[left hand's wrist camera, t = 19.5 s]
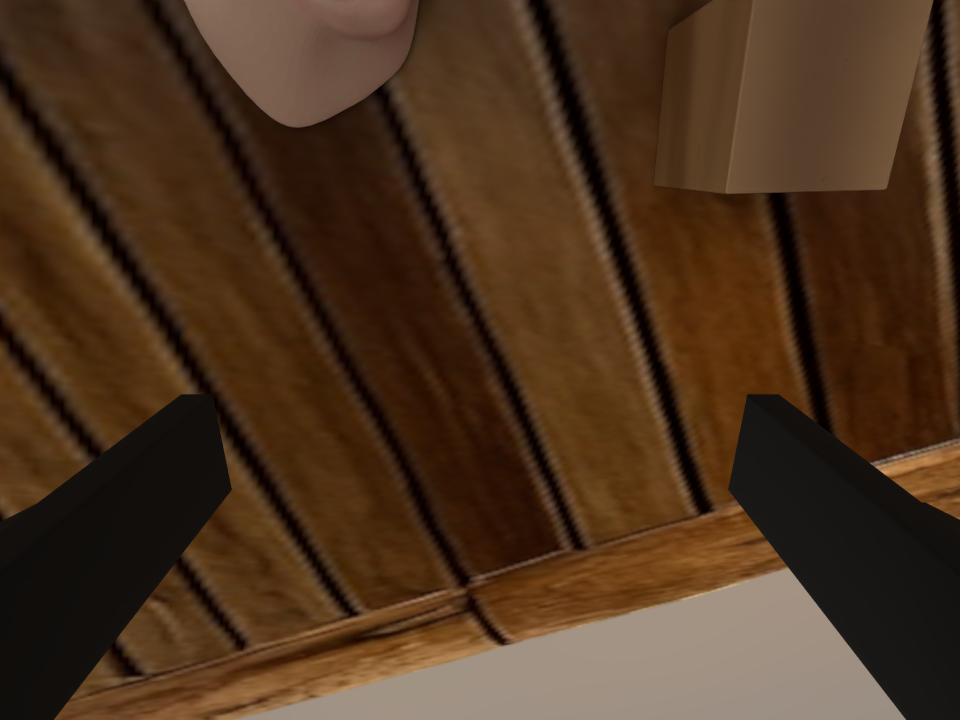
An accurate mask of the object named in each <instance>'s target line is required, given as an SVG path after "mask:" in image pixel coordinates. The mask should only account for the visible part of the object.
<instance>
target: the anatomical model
mask: <svg viewBox="0 0 960 720" xmlns="http://www.w3.org/2000/svg"><path fill="white" fill-rule="evenodd" d="M184 1H185V3H186V5H187V7H188V10H189V12H190V14H191V16H192V18H193V20H194V22H195V23H196V25H197V27H198V29H199V31H200V33H201V35H202V36H203V38H204V39H205V41H206V42H207V44H208V45H209V47H210V48H211V50H212V51H213V53H214V54H215V56H216V57H217V58H218V60H219V61H220V62H221V64H222V65H223V66H224V68H225V69H226V70H227V72H228V73H229V74H230V75H231V77H232V78H233V79H234V80H235V81H236V82H237V84H238V85H239V86H240V87H241V88H242V90H243V91H244V92H245V93H246V94H247V95H248V96H249V97H250V98H251V99H252V100H253V101H254V102H255V103H256V104H257V105H258V106H259V107H260V108H261V109H262V110H263V111H264V112H265V113H266V114H268V115H269V116H270V117H271V118H273V119H274V120H276V121H277V122H279V123H281V124H284V125H286V126H290V127H306V126H310V125H313V124H316V123H319V122H321V121H324V120H326V119H328V118H330V117H332V116H334V115H336V114H338V113H340V112H342V111H343V110H345V109H347V108H349V107H351V106H353V105H355V104H356V103H358V102H360V101H361V100H363V99H365V98H366V97H367V96H369V95H370V94H371V93H372V92H374V91H375V90H376V89H377V88H379V87H380V86H381V85H383V84H384V83H385V82H386V81H388V80H389V79H390V78H391V77H392V76H393V75H394V74H395V73H396V72H397V71H398V70H399V69H400V67H401V66H402V64H403V63H404V61H405V59H406V57H407V55H408V53H409V50H410V47H411V43H412V39H413V35H414V31H415V24H416V18H417V11H418V4H419V0H184Z"/></svg>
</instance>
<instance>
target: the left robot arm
mask: <svg viewBox="0 0 960 720" xmlns="http://www.w3.org/2000/svg"><path fill="white" fill-rule="evenodd" d="M231 490H232V488H231V484H230V479H229V474H228V469H227V464H226V459H225V454H224V449H223V444H222V439H221V434H220V429H219V424H218V419H217V414H216V409H215V404H214V399H213V394H181V395H180V396H179V397H177V398H176V399H175V400H173V401H172V402H171V403H169V404H168V405H167V406H165V407H164V408H163V409H161V410H160V411H159V412H157V413H156V414H155V415H153V416H152V417H151V418H150V419H148V420H147V421H146V422H144V423H143V424H142V425H140V426H139V427H138V428H136V429H135V430H134V431H132V432H131V433H130V434H128V435H127V436H126V437H124V438H123V439H122V440H120V441H119V442H118V443H116V444H115V445H114V446H112V447H111V448H110V449H109V450H107V451H106V452H105V453H103V454H102V455H101V456H99V457H98V458H97V459H95V460H94V461H93V462H91V463H90V464H89V465H87V466H86V467H85V468H83V469H82V470H81V471H79V472H78V473H77V474H75V475H74V476H73V477H71V478H70V479H69V480H68V481H66V482H65V483H64V484H62V485H61V486H60V487H58V488H57V489H56V490H54V491H53V492H52V493H50V494H49V495H48V496H46V497H45V498H44V499H42V500H41V501H40V502H38V503H37V504H35V505H33V506H31V507H29V508H27V509H25V510H23V511H21V512H19V513H17V514H15V515H13V516H11V517H9V518H8V519H6V520H4V521H2V522H0V720H54V719H55V718H56V716H57V715H58V714H59V712H60V711H61V710H62V708H63V707H64V706H65V705H66V703H67V702H68V701H69V699H70V698H71V697H72V696H73V694H74V693H75V692H76V690H77V689H78V688H79V686H80V685H81V684H82V683H83V681H84V680H85V679H86V677H87V676H88V675H89V674H90V672H91V671H92V670H93V668H94V667H95V666H96V665H97V663H98V662H99V661H100V659H101V658H102V657H103V655H104V654H105V653H106V652H107V650H108V649H109V648H110V646H111V645H112V644H113V643H114V641H115V640H116V639H117V637H118V636H119V635H120V633H121V632H122V631H123V630H124V628H125V627H126V626H127V624H128V623H129V622H130V621H131V619H132V618H133V617H134V615H135V614H136V613H137V612H138V610H139V609H140V608H141V606H142V605H143V604H144V602H145V601H146V600H147V599H148V597H149V596H150V595H151V593H152V592H153V591H154V590H155V588H156V587H157V586H158V584H159V583H160V582H161V580H162V579H163V578H164V577H165V575H166V574H167V573H168V571H169V570H170V569H171V568H172V566H173V565H174V564H175V562H176V561H177V560H178V558H179V557H180V556H181V555H182V553H183V552H184V551H185V549H186V548H187V547H188V546H189V544H190V543H191V542H192V540H193V539H194V538H195V537H196V535H197V534H198V533H199V531H200V530H201V529H202V527H203V526H204V525H205V524H206V522H207V521H208V520H209V518H210V517H211V516H212V515H213V513H214V512H215V511H216V509H217V508H218V507H219V505H220V504H221V503H222V502H223V500H224V499H225V498H226V496H227V495H228V494H229V493H230V491H231ZM728 490H729V491H730V493H731V494H732V495H733V496H734V498H735V499H736V500H737V502H738V503H739V504H740V505H741V507H742V508H743V509H744V511H745V512H746V513H747V515H748V516H749V517H750V518H751V520H752V521H753V522H754V524H755V525H756V526H757V527H758V529H759V530H760V531H761V533H762V534H763V535H764V537H765V538H766V539H767V540H768V542H769V543H770V544H771V546H772V547H773V548H774V549H775V551H776V552H777V553H778V555H779V556H780V557H781V558H782V560H783V561H784V562H785V564H786V565H787V566H788V568H789V569H790V570H791V571H792V573H793V574H794V575H795V577H796V578H797V579H798V580H799V582H800V583H801V584H802V586H803V587H804V588H805V590H806V591H807V592H808V593H809V595H810V596H811V597H812V599H813V600H814V601H815V602H816V604H817V605H818V606H819V608H820V609H821V610H822V612H823V613H824V614H825V615H826V617H827V618H828V619H829V621H830V622H831V623H832V624H833V626H834V627H835V628H836V630H837V631H838V632H839V633H840V635H841V636H842V637H843V639H844V640H845V641H846V643H847V644H848V645H849V646H850V648H851V649H852V650H853V652H854V653H855V654H856V655H857V657H858V658H859V659H860V661H861V662H862V663H863V665H864V666H865V667H866V668H867V670H868V671H869V672H870V674H871V675H872V676H873V677H874V679H875V680H876V681H877V683H878V684H879V685H880V686H881V688H882V689H883V690H884V692H885V693H886V694H887V696H888V697H889V698H890V699H891V701H892V702H893V703H894V704H895V706H896V707H897V708H898V710H899V711H900V712H901V714H902V715H903V716H904V717H905V719H906V720H960V520H959V519H957V518H955V517H953V516H951V515H949V514H947V513H945V512H943V511H941V510H939V509H937V508H935V507H933V506H931V505H929V504H927V503H922V502H920V501H919V500H918V499H916V498H915V497H914V496H912V495H911V494H910V493H908V492H907V491H906V490H904V489H903V488H902V487H900V486H899V485H898V484H896V483H895V482H894V481H892V480H891V479H890V478H889V477H887V476H886V475H885V474H883V473H882V472H881V471H879V470H878V469H877V468H875V467H874V466H873V465H871V464H870V463H869V462H867V461H866V460H865V459H863V458H862V457H861V456H859V455H858V454H857V453H855V452H854V451H853V450H851V449H850V448H849V447H848V446H846V445H845V444H844V443H842V442H841V441H840V440H838V439H837V438H836V437H834V436H833V435H832V434H830V433H829V432H828V431H826V430H825V429H824V428H822V427H821V426H820V425H818V424H817V423H816V422H814V421H813V420H812V419H810V418H809V417H808V416H807V415H805V414H804V413H803V412H801V411H800V410H799V409H797V408H796V407H795V406H793V405H792V404H791V403H789V402H788V401H787V400H785V399H784V398H783V397H781V396H780V395H779V394H747V399H746V404H745V409H744V414H743V419H742V424H741V429H740V434H739V439H738V444H737V449H736V454H735V459H734V464H733V469H732V474H731V479H730V484H729V488H728Z"/></svg>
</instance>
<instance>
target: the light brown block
mask: <svg viewBox="0 0 960 720" xmlns="http://www.w3.org/2000/svg"><path fill="white" fill-rule="evenodd" d="M932 4H933V0H712V1H711V2H709V3H708V4H706V5H705V6H703V7H702V8H700V9H699V10H697V11H696V12H694V13H693V14H691V15H690V16H689V17H687V18H686V19H684V20H683V21H681V22H680V23H678V24H677V25H675V26H674V27H672V28H671V29H669V30H668V35H667V46H666V57H665V68H664V78H663V89H662V100H661V111H660V122H659V132H658V143H657V154H656V165H655V176H654V185H655V186H663V187H672V188H680V189H689V190H698V191H706V192H715V193H724V194H741V193H779V192H816V191H853V190H884V189H886V188H887V185H888V181H889V177H890V173H891V169H892V165H893V161H894V157H895V153H896V149H897V145H898V141H899V136H900V132H901V128H902V124H903V120H904V116H905V112H906V108H907V104H908V100H909V96H910V92H911V88H912V84H913V80H914V76H915V72H916V68H917V64H918V60H919V56H920V52H921V48H922V44H923V40H924V36H925V32H926V28H927V24H928V20H929V16H930V12H931V8H932Z"/></svg>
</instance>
